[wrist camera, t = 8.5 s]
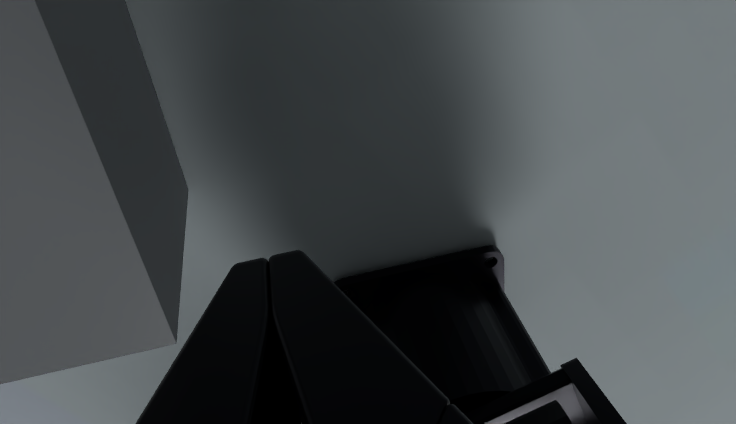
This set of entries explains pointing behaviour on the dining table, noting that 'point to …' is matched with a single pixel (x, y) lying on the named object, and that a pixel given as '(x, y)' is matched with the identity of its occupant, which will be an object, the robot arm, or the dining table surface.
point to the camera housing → (83, 191)
